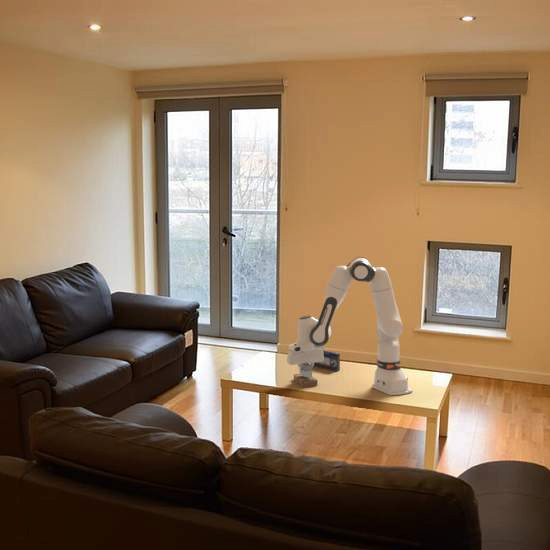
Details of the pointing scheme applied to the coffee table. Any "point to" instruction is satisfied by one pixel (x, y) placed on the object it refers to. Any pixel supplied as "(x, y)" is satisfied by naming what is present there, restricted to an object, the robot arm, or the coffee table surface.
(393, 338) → the robot arm
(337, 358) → the vhs cassette tape
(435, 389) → the coffee table surface
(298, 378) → the walnut stand
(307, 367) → the housing
